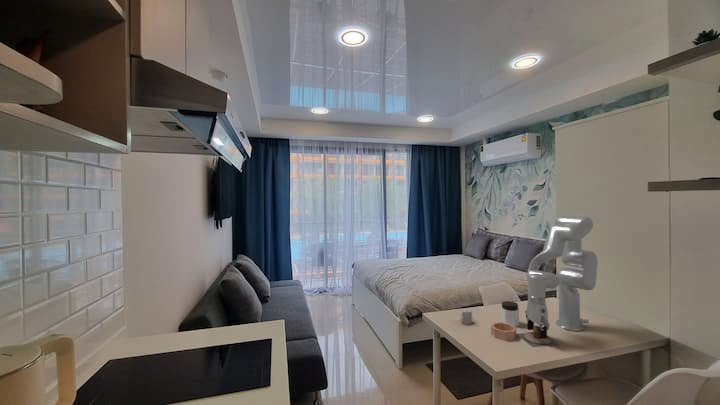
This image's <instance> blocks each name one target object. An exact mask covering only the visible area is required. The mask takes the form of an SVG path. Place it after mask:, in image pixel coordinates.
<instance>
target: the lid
mask: <svg viewBox="0 0 720 405" xmlns="http://www.w3.org/2000/svg"><path fill="white" fill-rule="evenodd" d="M540 330H541V329H540V326H539V325H534V326H533V330H532V331H526V332H524V339H525V340H527V341H528V342H531V343H534V344H538V345H548V344H551V342H552V340H553V339H552V338H551V337H550V336H549V335H547V338H544V339H541V338H540ZM551 339H552V340H551Z"/></svg>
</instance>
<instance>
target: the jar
mask: <svg viewBox="0 0 720 405" xmlns="http://www.w3.org/2000/svg"><path fill="white" fill-rule="evenodd" d="M500 318H501V320H500V322H503V323H507V324H511V325H513V326H514V327H515V328H517V327H519V326H520V309H519V304H518V303H517V302H514V301H511V300H509V301H508V300H504V301H502V302H501V307H500Z"/></svg>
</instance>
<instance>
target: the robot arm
mask: <svg viewBox="0 0 720 405" xmlns="http://www.w3.org/2000/svg"><path fill="white" fill-rule="evenodd" d="M593 227H594V222H593V220H592V219H591V218H590V217H588V216H582V215H581V216H576V215H575V216H574V215H559V216H557V217H556V218H555V219H554V224H552V225H551V226H549V228H548V230H547V235H546V238H545V242H544V246H543V249H542V251H541V252H539V253H538V254H537V255H536V256H535V255H534V257H533V258H532V259H531V261H530V262H529V265H528V269H527V273H526V280H527V305H526V306H527V308H526V310H525V311H524V313H525V318H526V322H527V324H526V326H527V330H528V331H533V326H535V324H536V325H537V326H539V327H540V329H541V330H540V338H541V339H544V338H547V336H548V330H549V329H550V322H549V316H548V315H549V314H548V306H547V304H546V289H555V288H558V320H556V321H555V325H556V326H557V327H560V328H562V329H563V330H566V331H571V332H581V331H584V330H585V328H584V325H583V324H589V323H590V322H589V319H587V318H586V319H583V318H582V317H581V296H580V295H581V294H580V293H579V290H578V289H580V290H584V291H593V290H594V289H595V287H596V283H597V273H598V261H599V260H598V257H597V254H596V253H595V252H594V251H592V250H587V249H582V246H583V245H582V243H583V241H582V240H583V239H584V238H585V237H586V236H587V235H589V233H590V232H592V230H593ZM558 258H561V263H562V264H563V265H566V266H569V267H573V268H568V267H562V268H559V269H557V271H556V273H554V272H548V271H544V270H540V267H541V266H542V265H543V264H544V263H546V262H547V261H550V260H554V259H555V260H556V259H558ZM574 267H575V268H579V269H582V270H579V269H575V268H574Z"/></svg>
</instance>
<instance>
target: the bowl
mask: <svg viewBox="0 0 720 405" xmlns="http://www.w3.org/2000/svg"><path fill="white" fill-rule="evenodd" d="M516 334H517V327H514V326H513V325H511V324H507V323H503V322H501V321H499V322H493V323H492V324H491V325H490V335H491V336H492V337H493V338H494V339H497V340H501V341H504V342H505V341H507V342H509V341H515V340H516V338H517V335H516Z"/></svg>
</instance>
